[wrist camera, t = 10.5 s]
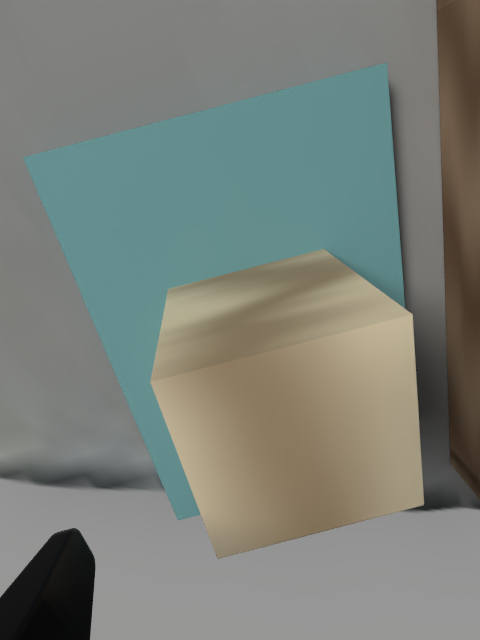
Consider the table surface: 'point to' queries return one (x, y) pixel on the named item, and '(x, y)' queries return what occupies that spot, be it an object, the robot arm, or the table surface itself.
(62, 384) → the table surface
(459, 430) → the walnut tray
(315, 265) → the labelled birch box
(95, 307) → the slate-teal mat
